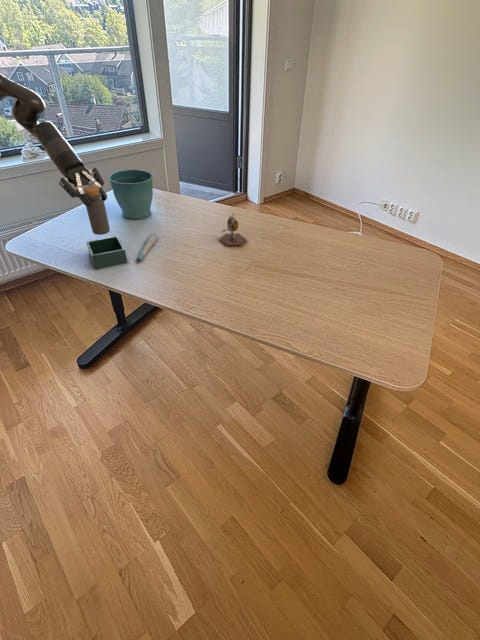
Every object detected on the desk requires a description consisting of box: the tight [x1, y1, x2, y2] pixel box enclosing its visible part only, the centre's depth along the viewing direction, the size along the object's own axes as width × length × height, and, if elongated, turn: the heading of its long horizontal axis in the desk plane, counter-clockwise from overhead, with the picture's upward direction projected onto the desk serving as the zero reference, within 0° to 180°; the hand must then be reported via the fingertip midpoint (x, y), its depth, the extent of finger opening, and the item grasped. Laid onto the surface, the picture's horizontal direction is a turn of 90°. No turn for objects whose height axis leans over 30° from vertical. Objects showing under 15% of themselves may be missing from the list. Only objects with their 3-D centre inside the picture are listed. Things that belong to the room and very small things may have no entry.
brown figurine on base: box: [219, 213, 247, 247], centre depth 139 cm, size 11×9×12 cm
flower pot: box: [108, 169, 154, 220], centre depth 152 cm, size 18×18×17 cm
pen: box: [136, 232, 158, 263], centre depth 133 cm, size 19×3×3 cm, turn 174°
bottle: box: [83, 185, 111, 236], centre depth 116 cm, size 6×6×15 cm
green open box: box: [86, 235, 128, 270], centre depth 126 cm, size 11×11×6 cm
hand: (97, 202), depth 113 cm, fingers closed on bottle, 5 cm apart
